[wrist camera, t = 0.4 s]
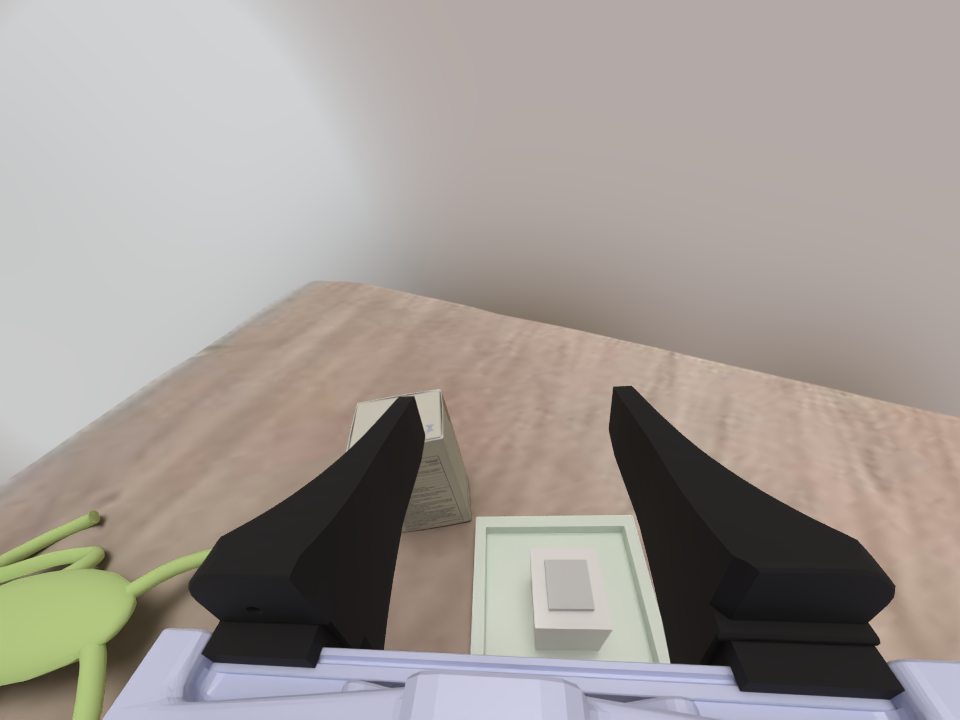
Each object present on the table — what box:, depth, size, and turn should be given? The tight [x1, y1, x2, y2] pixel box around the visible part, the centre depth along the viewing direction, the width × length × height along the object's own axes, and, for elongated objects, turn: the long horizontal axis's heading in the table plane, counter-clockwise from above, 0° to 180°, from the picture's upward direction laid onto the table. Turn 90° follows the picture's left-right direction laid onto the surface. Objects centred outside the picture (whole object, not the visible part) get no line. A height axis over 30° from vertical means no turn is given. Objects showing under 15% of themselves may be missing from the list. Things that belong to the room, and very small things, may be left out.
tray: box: [471, 515, 670, 664], centre depth 24 cm, size 12×12×2 cm
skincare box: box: [346, 389, 471, 532], centre depth 27 cm, size 6×4×12 cm
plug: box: [530, 547, 613, 651], centre depth 22 cm, size 4×4×6 cm
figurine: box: [0, 510, 212, 720], centre depth 24 cm, size 18×27×6 cm
